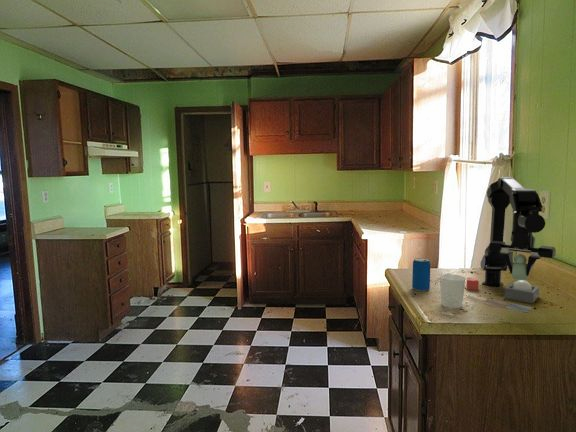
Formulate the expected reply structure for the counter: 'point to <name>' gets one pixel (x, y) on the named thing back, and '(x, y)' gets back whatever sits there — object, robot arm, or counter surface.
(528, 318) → the counter surface
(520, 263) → the pawn
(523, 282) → the dome
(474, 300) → the game track
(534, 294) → the grey square tray
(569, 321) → the counter surface
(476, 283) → the red die
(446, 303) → the white cup
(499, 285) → the robot arm
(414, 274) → the beverage can
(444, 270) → the counter surface
